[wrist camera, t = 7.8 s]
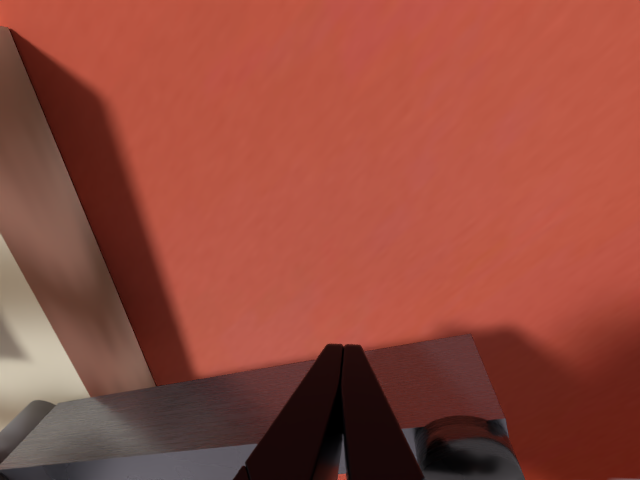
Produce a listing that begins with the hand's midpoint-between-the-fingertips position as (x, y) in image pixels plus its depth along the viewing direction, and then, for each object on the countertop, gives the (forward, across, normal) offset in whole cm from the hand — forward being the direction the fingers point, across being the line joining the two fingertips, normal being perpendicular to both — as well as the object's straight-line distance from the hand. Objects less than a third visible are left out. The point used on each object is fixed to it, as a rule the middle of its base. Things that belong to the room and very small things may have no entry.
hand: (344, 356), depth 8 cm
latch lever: (+1, +4, +3) cm, 5 cm away
